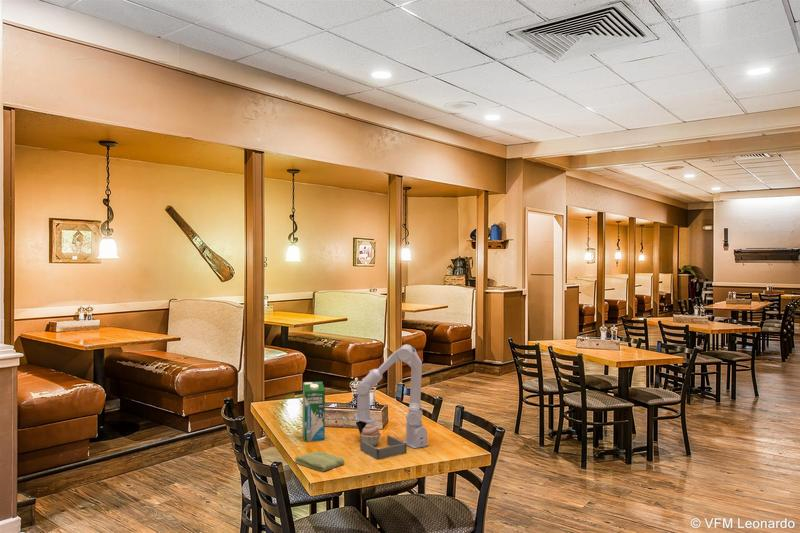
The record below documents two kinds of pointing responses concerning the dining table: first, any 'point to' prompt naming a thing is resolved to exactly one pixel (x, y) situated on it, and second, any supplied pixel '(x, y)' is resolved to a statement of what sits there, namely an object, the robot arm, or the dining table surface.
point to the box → (393, 449)
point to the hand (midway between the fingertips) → (363, 437)
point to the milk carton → (313, 411)
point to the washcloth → (319, 461)
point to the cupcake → (370, 434)
